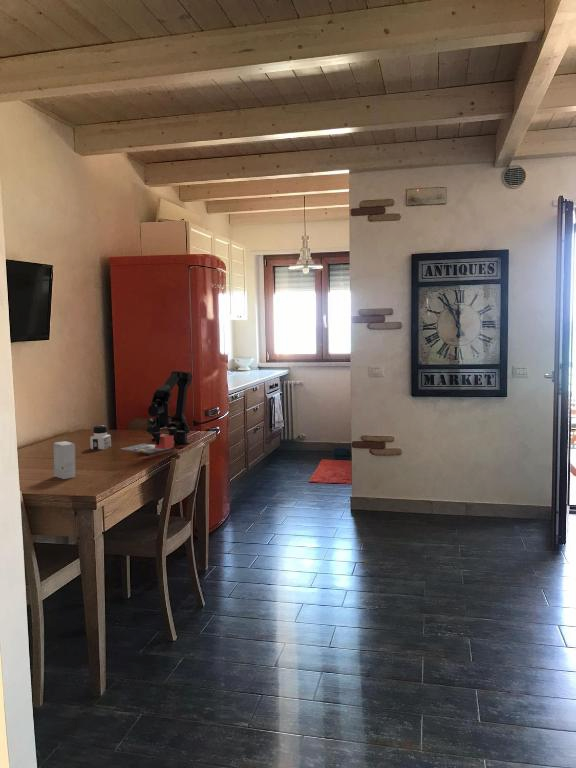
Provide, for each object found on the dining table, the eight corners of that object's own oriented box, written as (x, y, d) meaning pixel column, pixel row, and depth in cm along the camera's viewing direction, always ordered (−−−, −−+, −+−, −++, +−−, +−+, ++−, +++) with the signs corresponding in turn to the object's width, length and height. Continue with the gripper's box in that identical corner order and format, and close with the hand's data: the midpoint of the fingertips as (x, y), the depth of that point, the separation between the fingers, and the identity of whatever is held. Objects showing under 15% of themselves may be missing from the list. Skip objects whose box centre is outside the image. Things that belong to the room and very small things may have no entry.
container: (104, 452, 318) (103, 427, 317) (90, 451, 320) (89, 426, 318) (111, 449, 326) (110, 424, 324) (97, 448, 327) (96, 424, 326)
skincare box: (53, 476, 268) (51, 442, 266) (66, 474, 272) (64, 440, 271) (64, 479, 262) (62, 445, 261) (77, 476, 267) (75, 442, 265)
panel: (143, 446, 332) (143, 442, 332) (172, 450, 319) (172, 446, 319) (119, 451, 319) (119, 447, 319) (149, 456, 306) (149, 452, 306)
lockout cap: (164, 445, 324) (163, 434, 323) (173, 446, 320) (173, 435, 319) (155, 447, 319) (154, 436, 318) (165, 448, 315) (164, 437, 314)
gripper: (165, 410, 330) (166, 439, 331) (138, 414, 314) (139, 445, 316) (180, 411, 323) (181, 441, 325) (153, 416, 308) (154, 447, 310)
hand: (164, 443), depth 319 cm, fingers open, 9 cm apart
